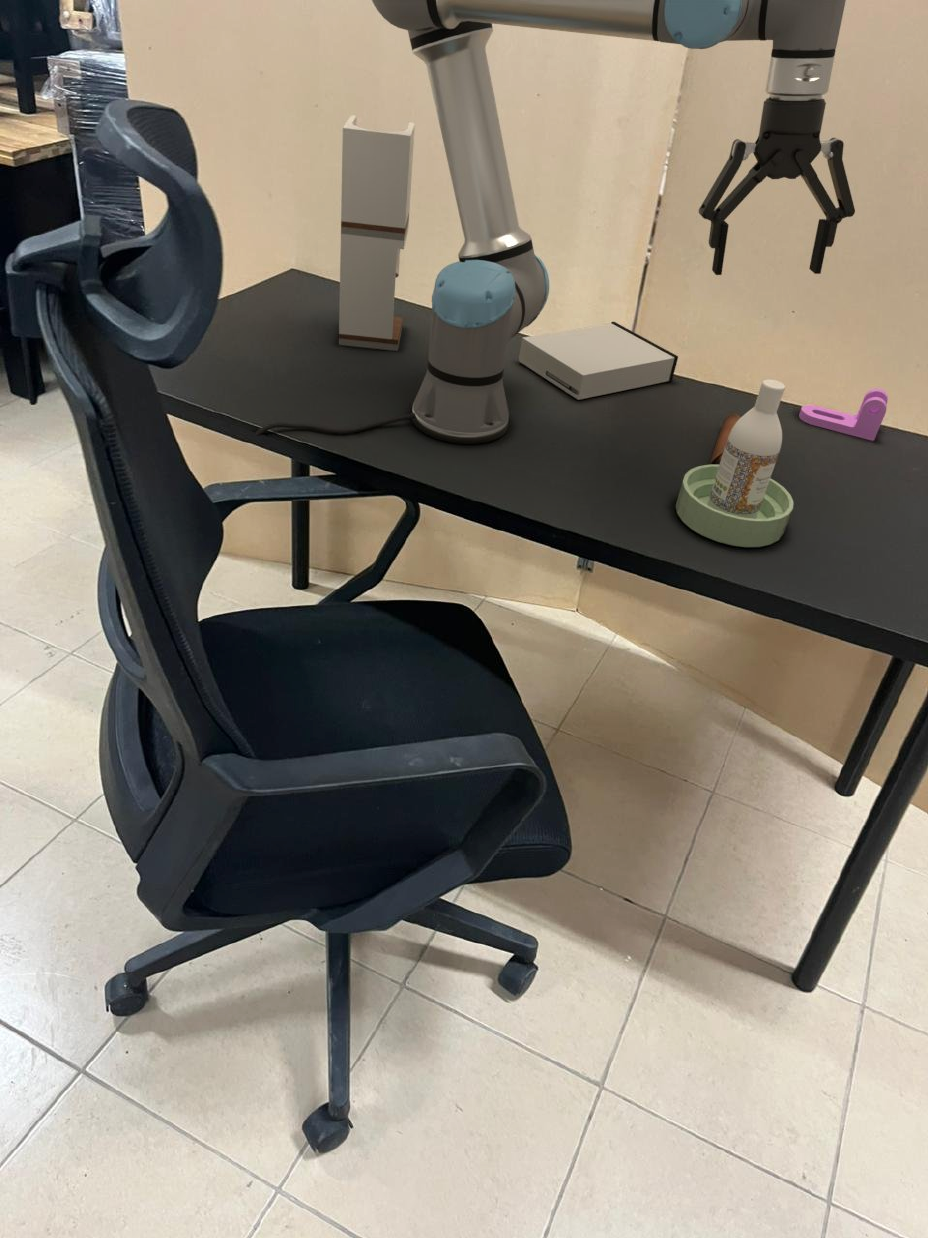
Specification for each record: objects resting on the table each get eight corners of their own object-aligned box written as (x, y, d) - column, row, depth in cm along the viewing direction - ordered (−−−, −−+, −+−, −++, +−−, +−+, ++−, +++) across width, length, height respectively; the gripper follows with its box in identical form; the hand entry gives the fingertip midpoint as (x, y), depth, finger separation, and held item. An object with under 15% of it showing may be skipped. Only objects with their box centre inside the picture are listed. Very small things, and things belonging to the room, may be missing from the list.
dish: (681, 540, 121) (690, 512, 118) (669, 485, 133) (677, 458, 130) (793, 555, 121) (804, 527, 118) (771, 498, 133) (781, 471, 130)
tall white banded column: (397, 350, 162) (410, 135, 141) (338, 344, 162) (342, 127, 140) (402, 328, 171) (414, 122, 150) (346, 322, 171) (351, 114, 149)
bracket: (875, 428, 157) (891, 391, 153) (873, 441, 153) (889, 403, 149) (800, 409, 161) (814, 372, 156) (797, 420, 156) (810, 383, 152)
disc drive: (672, 382, 164) (678, 355, 161) (578, 401, 153) (584, 373, 150) (609, 346, 175) (614, 321, 172) (517, 362, 164) (521, 335, 161)
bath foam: (730, 534, 123) (776, 398, 111) (694, 510, 127) (735, 376, 115) (764, 523, 126) (812, 390, 114) (728, 500, 131) (771, 369, 118)
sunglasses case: (763, 487, 134) (752, 447, 132) (716, 497, 138) (704, 458, 135) (772, 439, 148) (762, 402, 145) (729, 450, 152) (719, 413, 149)
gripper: (701, 101, 110) (680, 280, 122) (907, 97, 110) (865, 277, 122) (690, 95, 116) (671, 265, 129) (884, 91, 116) (847, 263, 128)
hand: (765, 272), depth 125 cm, fingers open, 13 cm apart
